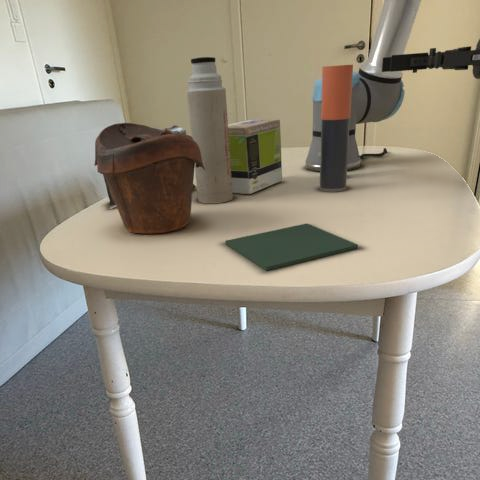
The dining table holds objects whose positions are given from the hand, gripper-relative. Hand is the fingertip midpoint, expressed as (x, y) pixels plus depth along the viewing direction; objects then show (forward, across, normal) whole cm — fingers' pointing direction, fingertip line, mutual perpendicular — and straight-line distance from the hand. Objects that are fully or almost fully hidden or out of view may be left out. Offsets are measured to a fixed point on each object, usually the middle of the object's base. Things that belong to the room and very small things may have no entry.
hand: (386, 64), depth 90 cm
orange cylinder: (+10, 0, -10) cm, 14 cm away
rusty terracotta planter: (+52, -4, -25) cm, 58 cm away
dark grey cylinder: (+10, 0, -25) cm, 26 cm away
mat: (+18, -40, -25) cm, 50 cm away
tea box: (+30, +4, -25) cm, 39 cm away
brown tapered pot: (+43, -27, -25) cm, 57 cm away
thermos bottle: (+36, -7, -25) cm, 44 cm away
